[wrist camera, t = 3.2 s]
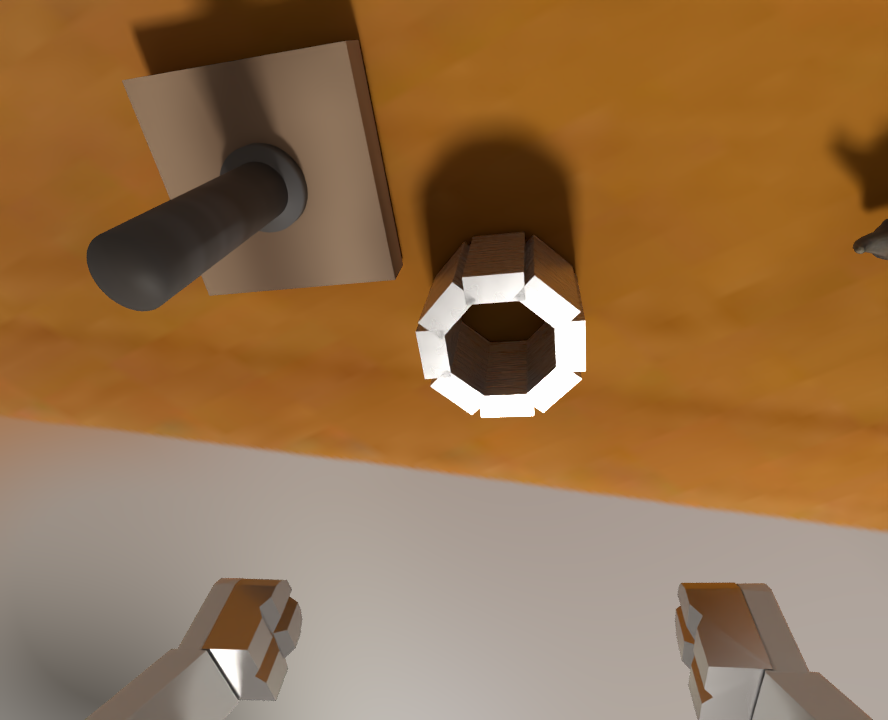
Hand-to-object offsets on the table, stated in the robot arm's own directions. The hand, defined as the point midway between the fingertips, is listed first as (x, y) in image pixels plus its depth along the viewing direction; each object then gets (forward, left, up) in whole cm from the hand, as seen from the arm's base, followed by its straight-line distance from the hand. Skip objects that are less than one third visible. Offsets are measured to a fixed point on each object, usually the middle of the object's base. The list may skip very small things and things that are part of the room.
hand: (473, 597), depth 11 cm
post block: (+8, -6, -13) cm, 17 cm away
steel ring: (0, 0, -13) cm, 13 cm away
